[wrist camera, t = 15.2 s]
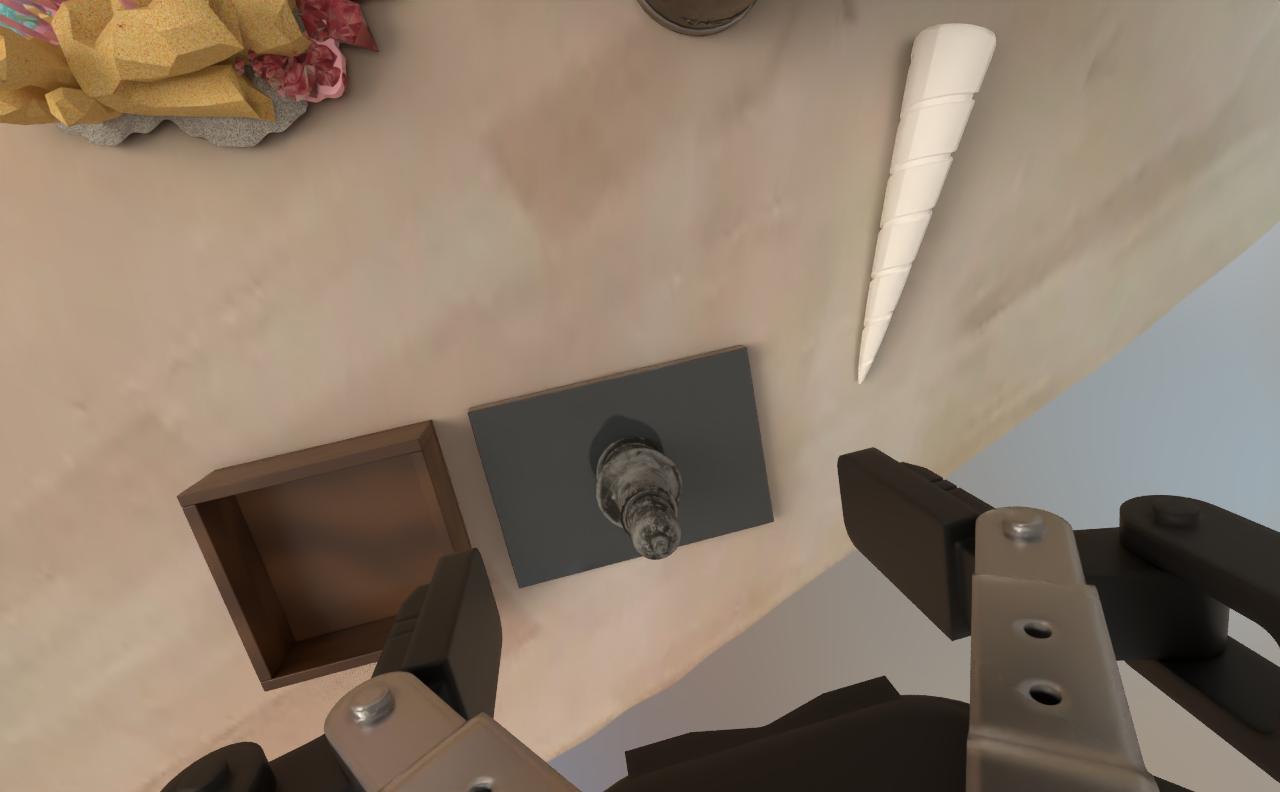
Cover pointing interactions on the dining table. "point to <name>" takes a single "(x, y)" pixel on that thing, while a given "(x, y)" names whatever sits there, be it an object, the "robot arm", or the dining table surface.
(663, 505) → the stone chess piece
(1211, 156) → the dining table surface
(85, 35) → the candy landscape model
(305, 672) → the wooden box
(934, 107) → the unicorn horn
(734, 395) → the slate board
